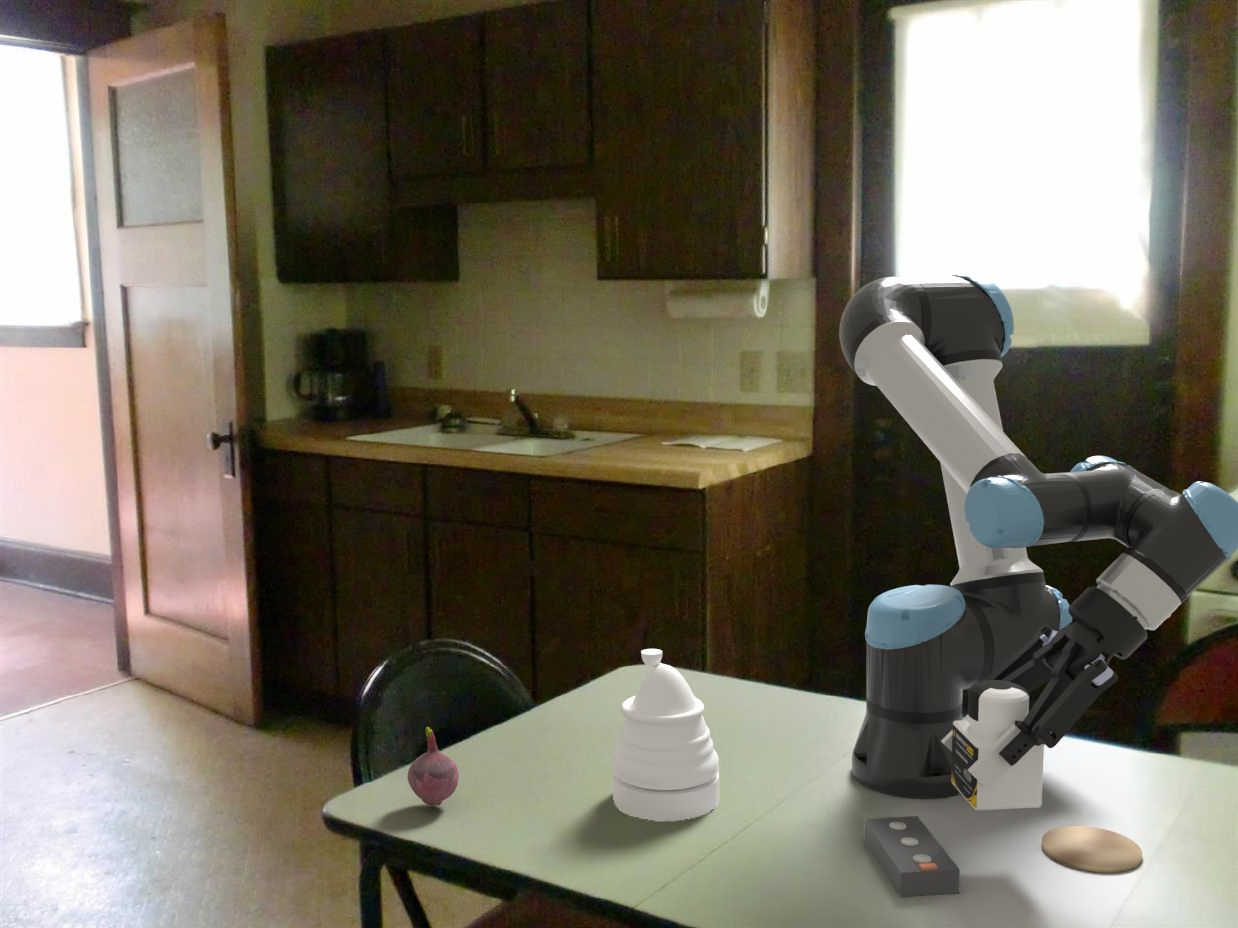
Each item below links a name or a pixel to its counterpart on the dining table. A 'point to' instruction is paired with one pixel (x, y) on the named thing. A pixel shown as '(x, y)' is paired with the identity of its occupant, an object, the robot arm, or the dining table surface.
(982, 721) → the medicine bottle
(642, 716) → the honey pot
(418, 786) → the vegetable
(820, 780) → the dining table surface
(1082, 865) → the coaster
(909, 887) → the power strip
